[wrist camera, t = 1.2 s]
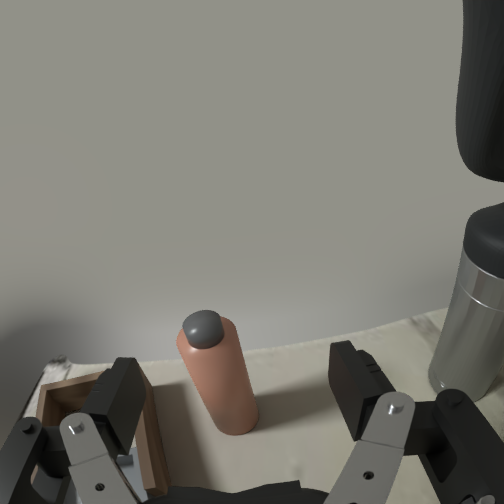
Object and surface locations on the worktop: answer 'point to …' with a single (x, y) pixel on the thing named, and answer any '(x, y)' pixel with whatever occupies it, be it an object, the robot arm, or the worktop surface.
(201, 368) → the bottle
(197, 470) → the worktop surface
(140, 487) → the tray
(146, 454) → the wooden storage box
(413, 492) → the worktop surface
